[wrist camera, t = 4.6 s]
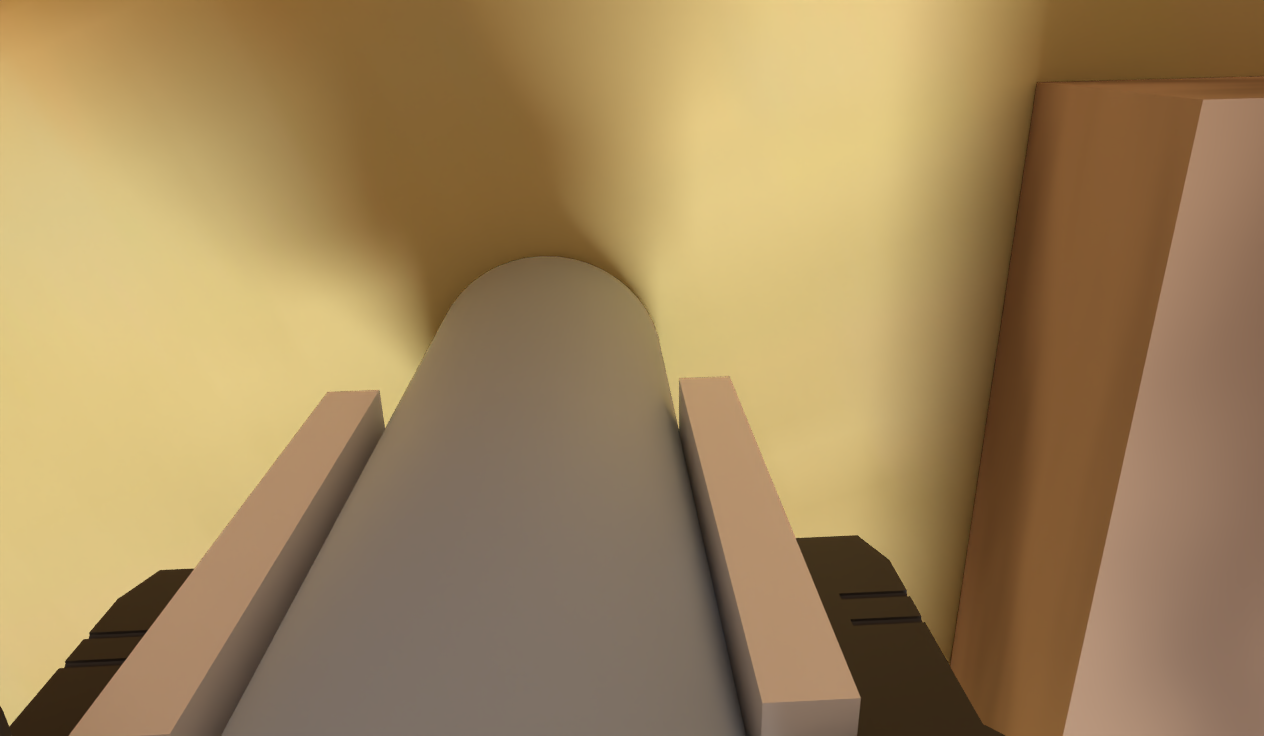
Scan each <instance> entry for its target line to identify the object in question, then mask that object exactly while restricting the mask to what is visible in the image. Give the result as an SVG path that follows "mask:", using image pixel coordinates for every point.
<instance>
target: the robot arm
mask: <svg viewBox="0 0 1264 736" xmlns="http://www.w3.org/2000/svg"><path fill="white" fill-rule="evenodd" d="M384 430H385V425H384V419H383V412H382V405H381V398H380V391H379V390H366V391H340V392H327V393H326V395H325V396H324V397H323V399H322V400H321V401H320V403H319V404H318V405H317V407H316V408H315V409H314V411H313V412H312V413H311V415H310V416H309V417H308V419H307V420H306V421H305V423H304V424H303V425H302V427H301V428H300V429H299V431H298V432H297V433H296V435H295V436H294V437H293V438H292V440H291V441H290V442H289V444H288V445H287V446H286V448H285V449H284V450H283V452H282V453H281V454H280V456H279V457H278V458H277V460H276V461H275V462H274V464H273V465H272V466H271V468H270V469H269V470H268V472H267V473H266V474H265V476H264V477H263V478H262V480H261V481H260V482H259V484H258V485H257V486H256V488H255V489H254V490H253V492H252V493H251V494H250V496H249V497H248V498H247V500H246V501H245V502H244V504H243V505H242V506H241V508H240V509H239V510H238V511H237V513H236V514H235V515H234V517H233V518H232V519H231V521H230V522H229V523H228V525H227V526H226V527H225V529H224V530H223V531H222V533H221V534H220V535H219V537H218V538H217V539H216V541H215V542H214V543H213V545H212V546H211V547H210V549H209V550H208V551H207V553H206V554H205V555H204V557H203V558H202V559H201V561H200V562H199V563H198V565H197V566H196V567H195V569H176V570H160V571H158V572H157V573H155V574H154V575H152V576H151V577H149V578H148V579H147V580H145V581H144V582H142V583H141V584H139V585H138V586H136V587H135V588H133V589H132V590H130V591H129V592H128V593H126V594H125V595H123V596H122V597H120V598H119V599H118V600H117V601H116V602H115V603H114V604H113V605H112V607H111V608H110V609H109V610H108V611H107V612H106V614H105V615H104V616H103V617H102V618H101V620H100V621H99V622H98V623H97V624H96V625H95V627H94V628H93V629H92V630H91V631H90V633H89V634H90V636H89V639H84V640H83V641H82V642H81V643H80V644H79V645H78V647H77V648H76V649H75V650H74V651H73V653H72V654H71V655H70V656H69V657H68V658H67V660H66V661H65V663H66V664H65V667H64V668H59V669H58V670H57V671H56V673H55V674H54V675H53V676H52V677H51V678H50V680H49V681H48V682H47V683H46V684H45V685H44V687H43V688H42V689H41V690H40V691H39V693H38V694H37V695H36V696H35V697H34V698H33V700H32V701H31V702H30V703H29V704H28V705H27V707H26V708H25V709H24V710H23V711H22V713H21V714H20V715H19V716H18V717H17V718H16V720H15V721H14V722H13V723H12V724H11V726H10V727H9V725H8V723H7V720H6V718H5V715H4V712H3V710H2V708H1V707H0V736H221V735H222V733H223V731H224V729H225V727H226V725H227V723H228V722H229V720H230V718H231V716H232V714H233V712H234V710H235V708H236V707H237V705H238V703H239V701H240V699H241V697H242V695H243V694H244V692H245V690H246V688H247V686H248V684H249V682H250V680H251V679H252V677H253V675H254V673H255V671H256V669H257V667H258V665H259V664H260V662H261V660H262V658H263V656H264V654H265V652H266V651H267V649H268V647H269V645H270V643H271V641H272V639H273V637H274V636H275V634H276V632H277V630H278V628H279V626H280V624H281V623H282V621H283V619H284V617H285V615H286V613H287V611H288V609H289V608H290V606H291V604H292V602H293V600H294V598H295V596H296V594H297V593H298V591H299V589H300V587H301V585H302V583H303V581H304V580H305V578H306V576H307V574H308V572H309V570H310V568H311V566H312V565H313V563H314V561H315V559H316V557H317V555H318V553H319V551H320V550H321V548H322V546H323V544H324V542H325V540H326V538H327V537H328V535H329V533H330V531H331V529H332V527H333V525H334V523H335V522H336V520H337V518H338V516H339V514H340V512H341V510H342V508H343V507H344V505H345V503H346V501H347V499H348V497H349V495H350V494H351V492H352V490H353V488H354V486H355V484H356V482H357V480H358V479H359V477H360V475H361V473H362V471H363V469H364V467H365V466H366V464H367V462H368V460H369V458H370V456H371V454H372V452H373V451H374V449H375V447H376V445H377V443H378V441H379V439H380V437H381V436H382V434H383V432H384ZM679 433H680V438H681V442H682V447H683V451H684V456H685V460H686V465H687V469H688V474H689V478H690V483H691V487H692V492H693V496H694V501H695V505H696V510H697V514H698V519H699V523H700V528H701V532H702V537H703V541H704V546H705V550H706V555H707V559H708V564H709V568H710V573H711V577H712V582H713V586H714V591H715V595H716V600H717V604H718V609H719V613H720V618H721V623H722V627H723V632H724V636H725V641H726V645H727V650H728V654H729V659H730V663H731V668H732V672H733V677H734V681H735V686H736V690H737V695H738V699H739V704H740V708H741V713H742V717H743V722H744V726H745V731H746V735H747V736H1005V735H1004V734H1002V733H1000V732H998V731H996V730H994V729H992V728H990V727H988V726H986V725H983V723H982V721H981V720H980V718H979V716H978V714H977V713H976V711H975V709H974V707H973V706H972V704H971V702H970V700H969V699H968V697H967V695H966V693H965V692H964V690H963V688H962V686H961V685H960V683H959V681H958V679H957V678H956V676H955V674H954V672H953V671H952V669H951V667H950V665H949V664H948V662H947V660H946V658H945V657H944V655H943V653H942V651H941V650H940V648H939V646H938V644H937V643H936V641H935V639H934V637H933V636H932V634H931V632H930V630H929V629H928V627H927V625H926V623H925V622H924V623H922V621H921V615H920V613H919V611H918V610H917V608H916V606H915V604H914V603H913V601H912V599H911V597H910V596H907V590H906V589H905V587H904V585H903V583H902V582H901V580H900V578H899V576H898V575H897V573H896V571H895V569H894V568H893V566H892V564H891V562H890V561H889V560H888V559H887V558H886V557H885V556H883V555H882V554H881V553H879V552H878V551H877V550H876V549H874V548H873V547H872V546H870V545H869V544H868V543H866V542H865V541H864V540H863V539H861V538H860V537H859V536H857V535H856V536H834V537H812V538H795V536H794V533H793V531H792V528H791V526H790V523H789V521H788V518H787V516H786V514H785V511H784V509H783V506H782V504H781V501H780V499H779V496H778V494H777V492H776V489H775V487H774V484H773V482H772V479H771V477H770V474H769V472H768V469H767V467H766V465H765V462H764V460H763V457H762V455H761V452H760V450H759V447H758V445H757V443H756V440H755V438H754V435H753V433H752V430H751V428H750V425H749V423H748V420H747V418H746V416H745V413H744V411H743V408H742V406H741V403H740V401H739V398H738V396H737V394H736V391H735V389H734V386H733V384H732V381H731V379H730V376H725V377H699V378H679Z"/></svg>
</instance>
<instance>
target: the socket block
mask: <svg viewBox="0 0 1264 736" xmlns="http://www.w3.org/2000/svg"><path fill="white" fill-rule="evenodd" d="M950 667H951V669H952V671H953V672H954V674H955V676H956V678H957V679H958V681H959V683H960V685H961V686H962V688H963V690H964V692H965V693H966V695H967V697H968V699H969V700H970V702H971V704H972V706H973V707H974V709H975V711H976V713H977V714H978V716H979V718H980V720H981V721H982V723H983V725H986V726H988V727H990V728H992V729H994V730H996V731H998V732H1000V733H1002V734H1004V735H1005V736H1264V76H1255V77H1219V78H1182V79H1145V80H1109V81H1072V82H1037V86H1036V93H1035V100H1034V107H1033V113H1032V120H1031V127H1030V133H1029V140H1028V147H1027V154H1026V160H1025V167H1024V174H1023V180H1022V187H1021V194H1020V201H1019V207H1018V214H1017V221H1016V228H1015V234H1014V241H1013V248H1012V254H1011V261H1010V268H1009V275H1008V281H1007V288H1006V295H1005V301H1004V308H1003V315H1002V322H1001V328H1000V335H999V342H998V348H997V355H996V362H995V369H994V375H993V382H992V389H991V396H990V402H989V409H988V416H987V422H986V429H985V436H984V443H983V449H982V456H981V463H980V469H979V476H978V483H977V490H976V496H975V503H974V510H973V517H972V523H971V530H970V537H969V543H968V550H967V557H966V564H965V570H964V577H963V584H962V590H961V597H960V604H959V611H958V617H957V624H956V631H955V638H954V644H953V651H952V658H951V664H950Z"/></svg>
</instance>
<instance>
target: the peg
mask: <svg viewBox="0 0 1264 736" xmlns="http://www.w3.org/2000/svg"><path fill="white" fill-rule="evenodd" d="M221 736H747V735H746V731H745V726H744V722H743V717H742V713H741V708H740V704H739V699H738V695H737V690H736V686H735V681H734V677H733V672H732V668H731V663H730V659H729V654H728V650H727V645H726V641H725V636H724V632H723V627H722V623H721V618H720V613H719V609H718V604H717V600H716V595H715V591H714V586H713V582H712V577H711V573H710V568H709V564H708V559H707V555H706V550H705V546H704V541H703V537H702V532H701V528H700V523H699V519H698V514H697V510H696V505H695V501H694V496H693V492H692V487H691V483H690V478H689V474H688V469H687V465H686V460H685V456H684V451H683V447H682V442H681V438H680V433H679V428H678V424H677V419H676V415H675V410H674V406H673V401H672V397H671V392H670V388H669V383H668V379H667V374H666V370H665V365H664V361H663V356H662V352H661V347H660V343H659V338H658V334H657V332H656V329H655V326H654V324H653V321H652V319H651V318H650V316H649V314H648V312H647V310H646V309H645V307H644V306H643V304H642V303H641V302H640V300H639V299H638V298H637V297H636V295H635V294H634V293H633V292H632V291H631V290H630V289H629V288H628V287H627V286H626V285H624V284H623V283H622V282H621V281H619V280H618V279H617V278H616V277H614V276H612V275H611V274H609V273H607V272H606V271H604V270H602V269H600V268H598V267H595V266H593V265H591V264H589V263H585V262H582V261H579V260H575V259H570V258H564V257H558V256H538V257H527V258H523V259H518V260H514V261H511V262H508V263H505V264H503V265H500V266H497V267H495V268H494V269H492V270H490V271H488V272H486V273H484V274H483V275H481V276H480V277H479V278H477V279H476V280H475V281H473V282H472V283H471V284H470V285H469V286H468V287H467V288H466V289H465V290H464V291H462V292H461V294H460V295H459V296H458V298H457V299H456V300H455V301H454V303H453V304H452V306H451V307H450V309H449V311H448V313H447V314H446V316H445V318H444V320H443V322H442V323H441V325H440V327H439V329H438V331H437V333H436V335H435V337H434V338H433V340H432V342H431V344H430V346H429V348H428V350H427V351H426V353H425V355H424V357H423V359H422V361H421V363H420V365H419V366H418V368H417V370H416V372H415V374H414V376H413V378H412V380H411V381H410V383H409V385H408V387H407V389H406V391H405V393H404V394H403V396H402V398H401V400H400V402H399V404H398V406H397V408H396V409H395V411H394V413H393V415H392V417H391V419H390V421H389V423H388V424H387V426H386V428H385V430H384V432H383V434H382V436H381V437H380V439H379V441H378V443H377V445H376V447H375V449H374V451H373V452H372V454H371V456H370V458H369V460H368V462H367V464H366V466H365V467H364V469H363V471H362V473H361V475H360V477H359V479H358V480H357V482H356V484H355V486H354V488H353V490H352V492H351V494H350V495H349V497H348V499H347V501H346V503H345V505H344V507H343V508H342V510H341V512H340V514H339V516H338V518H337V520H336V522H335V523H334V525H333V527H332V529H331V531H330V533H329V535H328V537H327V538H326V540H325V542H324V544H323V546H322V548H321V550H320V551H319V553H318V555H317V557H316V559H315V561H314V563H313V565H312V566H311V568H310V570H309V572H308V574H307V576H306V578H305V580H304V581H303V583H302V585H301V587H300V589H299V591H298V593H297V594H296V596H295V598H294V600H293V602H292V604H291V606H290V608H289V609H288V611H287V613H286V615H285V617H284V619H283V621H282V623H281V624H280V626H279V628H278V630H277V632H276V634H275V636H274V637H273V639H272V641H271V643H270V645H269V647H268V649H267V651H266V652H265V654H264V656H263V658H262V660H261V662H260V664H259V665H258V667H257V669H256V671H255V673H254V675H253V677H252V679H251V680H250V682H249V684H248V686H247V688H246V690H245V692H244V694H243V695H242V697H241V699H240V701H239V703H238V705H237V707H236V708H235V710H234V712H233V714H232V716H231V718H230V720H229V722H228V723H227V725H226V727H225V729H224V731H223V733H222V735H221Z"/></svg>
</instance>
